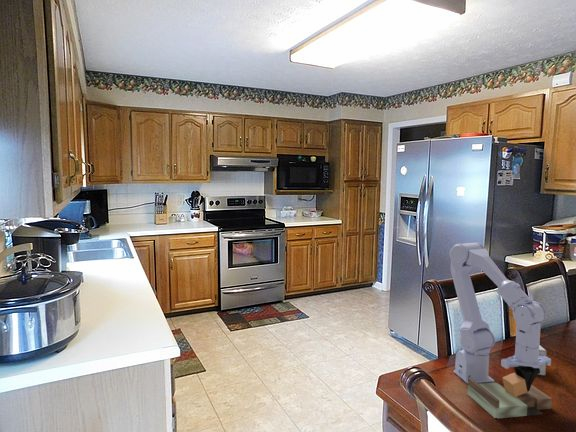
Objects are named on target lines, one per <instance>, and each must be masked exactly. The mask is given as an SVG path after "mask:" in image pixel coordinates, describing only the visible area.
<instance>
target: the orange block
mask: <svg viewBox="0 0 576 432" xmlns="http://www.w3.org/2000/svg"><path fill="white" fill-rule="evenodd" d="M501 379H502V382H503V388H505V390H506V391H507V392H509V393H510V394H512V395H513V396H515V397H517V396H520V395H522V394H524V393H527V387H526V383H525V379H523V378H522V377H520V376H518V375H517V374H516V372H512V373H509V374H507V375H505V376H503V377H502V378H501Z"/></svg>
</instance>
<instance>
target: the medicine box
mask: <svg viewBox="0 0 576 432" xmlns="http://www.w3.org/2000/svg"><path fill="white" fill-rule="evenodd" d="M539 356H546V357H547V350H546V349H545V348H544V347H543V346H541V345H540V344H539ZM546 366H547V365H540V368H539V369H540V373H539V374H538V375H537V376H546Z"/></svg>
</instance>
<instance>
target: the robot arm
mask: <svg viewBox="0 0 576 432" xmlns="http://www.w3.org/2000/svg"><path fill="white" fill-rule="evenodd" d="M448 255H449V258H450V266H449V267H450V269H449V270H450V273H451V277H452V280H453V281H452V282H453V285H454V289H455V294H456V295H457V296H456V297H457V300H458V304H459V307H460V311H461V315H462V320H463V323H462V324H461V326H460V328H459V333H460V337H459V342H460V343H459V344H460V345H461V347H462V348H463V349H462V350H459V351H457V352H456V354H455V361H454V362H455V364H454V370H453V373H454V374H456V375H457V376H458V377H459V378H460V379H461V380H463V381H464V382H465V383H466V384H468V378H472V379H473V380H475V381H476V382H477V383H478V384H481V383H494V382H495V379H493V378H492V377H490V376H489V364H490V352H491V348H493V347H494V345H495V344H496V338H495V335H494V333H493V332H492V331H491V329H490V326H489V324H488V323H487V322H485V321H484V319H483V318H482V315H481V312H480V308H479V304H478V301H477V300H478V299H477V296H476V292H475V289H474V285H473V282H472V279H471V278H472V277H471V274H470V272H471V270H472V269H473V267H475V268H477V267H478V268H479V269H480V270H481V271H482V272H483V273H484V274H485V275H486V276H487V277H488V278H489V279H490V281H492V282H493V283H494V285H496V286H497V293H498V295H499V297H501V298H502V300H503V301H504V302H505V303H506V304H507V305H508V306H509V307H510V308H511V310H512V316H513V319H514V321H515V327H516V328H515V329H516V331H515V347H514V348H515V349H514V350H515V351H514V354H513V355H512V356H508V357H507V358H501V360H500V362H501V363H500V366H501V367H503V368H504V369H505V370H509V369H510V368H512V369H513V371H514V373H515V374H517V375H518V376H520V377H522V378H523V379H525V383H526V387H527V392H528V391H529V390H530V387H531V385H532V386H533V383H534V381H535V379H536V378H537V377H538V376H539V375H538V374H539V373H540V369H539V368H540V365H546V366H549V367H550V366H551V365H552V358H550V357H548V356H547V355H546V356H539V345H540V342H541V340H540V338H541V327H542V323H541V322H542V321H544V320H545V319H546V317H547V313H546V309H545V307H543V304H542V303H540V302H538V301H534V300H533V299H532V298H531V297H529V296H528V294H526V293H525V291H524V290H523V289H522V288H521V285H520V284H519V282H516V281H514V280H509V279H508V278H507V277H506V276H505V275H504V273H503V272H502V270H500V268H499V267H498V266H497V264H496V263H495V262H494V260H493V259H492V258H491V256H490V255H489V251H488V249H486V248H485V247H484V245H483V244H482V243H480V242H478V241H475V242H466V243H456V244H453V246H452V247H451V249H450V250H449V252H448Z"/></svg>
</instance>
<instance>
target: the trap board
mask: <svg viewBox="0 0 576 432" xmlns="http://www.w3.org/2000/svg"><path fill="white" fill-rule="evenodd" d="M467 395H468V396H469V397H470V398H471V399H472V400H473V401H475V403H477V404H478V405H479V406H480V407H481V408H483V409H484V411H486V412H487V413H488V414H489V415H491V416H492V418H494V419H495V418H497V419H505V418H517V417H525V416H526V417H527V416H537V415H544V413H543V412H542V411H541V410H551V409H552V403H553V398H552V397H550V396H549V395H547V394H546V393H545V392H543V391H542V390H540V389H538V388H537V387H536V386H534V385H533V384H532V385H531V387H530V390H529V391H528V392H527V393H524V394H522V395H520V396H517V397H515V396H513V395H512V394H510V393H509V392H507V391H506V390H505V388H504V386H502V385H501V384H500V383H498V382H495V381H494V382H485V383H477V382H476V381H475V380H473V379H472V378H468V383H467Z"/></svg>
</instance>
